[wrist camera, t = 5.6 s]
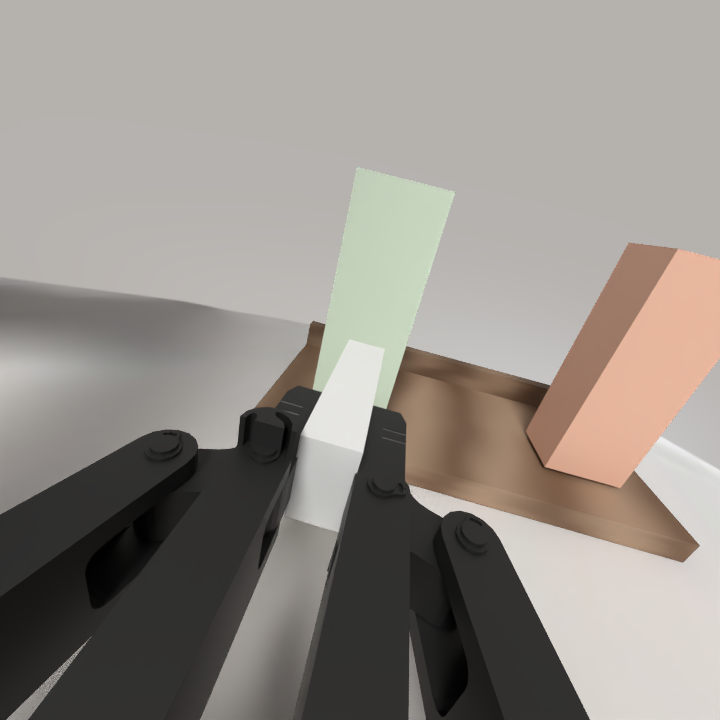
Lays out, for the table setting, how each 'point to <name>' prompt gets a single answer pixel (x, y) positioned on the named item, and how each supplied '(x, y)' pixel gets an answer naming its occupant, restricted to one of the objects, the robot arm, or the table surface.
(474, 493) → the wooden board
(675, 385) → the salmon orange rectangular block
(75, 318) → the table surface
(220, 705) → the table surface
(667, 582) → the table surface
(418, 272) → the pale green block
